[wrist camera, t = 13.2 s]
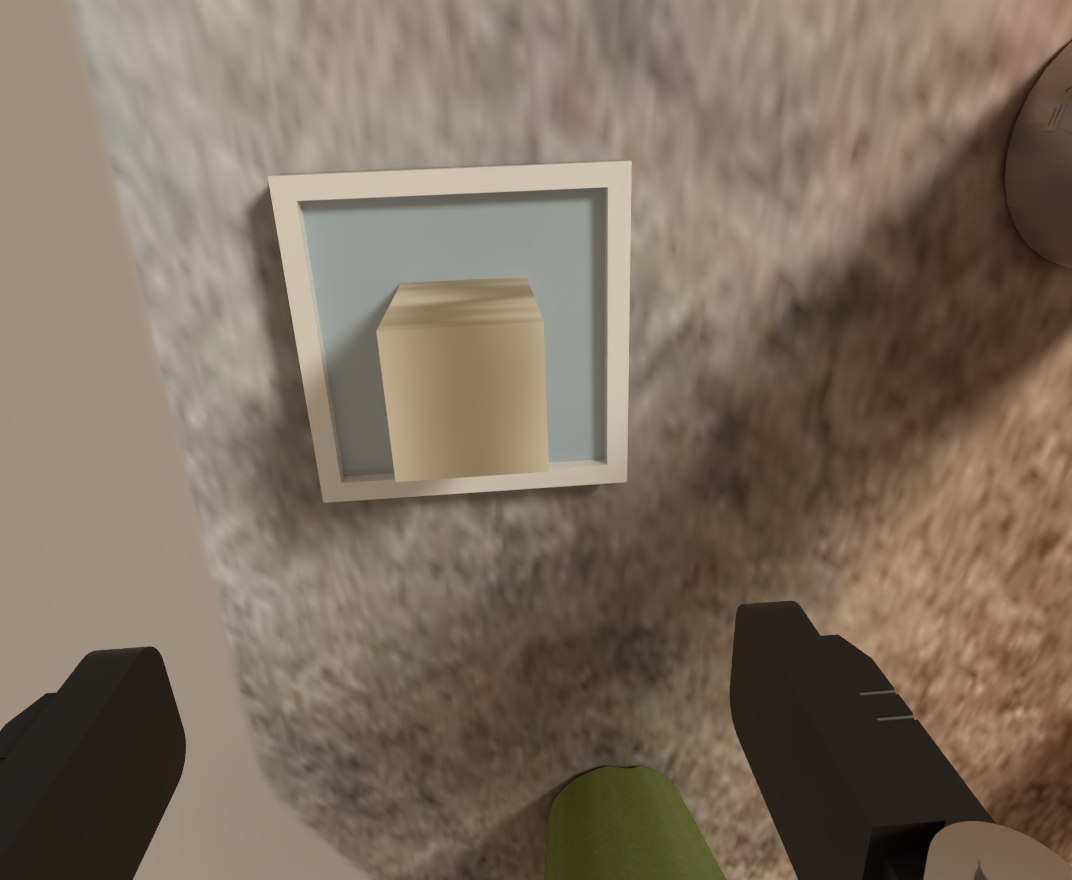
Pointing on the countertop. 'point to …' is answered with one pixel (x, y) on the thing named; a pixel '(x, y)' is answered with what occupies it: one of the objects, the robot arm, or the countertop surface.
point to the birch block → (465, 379)
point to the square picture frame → (459, 254)
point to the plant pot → (625, 830)
